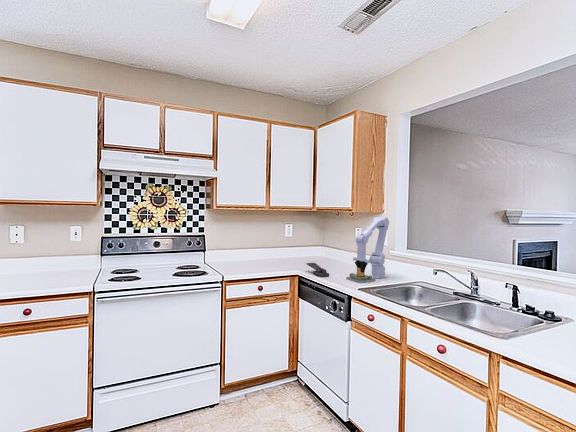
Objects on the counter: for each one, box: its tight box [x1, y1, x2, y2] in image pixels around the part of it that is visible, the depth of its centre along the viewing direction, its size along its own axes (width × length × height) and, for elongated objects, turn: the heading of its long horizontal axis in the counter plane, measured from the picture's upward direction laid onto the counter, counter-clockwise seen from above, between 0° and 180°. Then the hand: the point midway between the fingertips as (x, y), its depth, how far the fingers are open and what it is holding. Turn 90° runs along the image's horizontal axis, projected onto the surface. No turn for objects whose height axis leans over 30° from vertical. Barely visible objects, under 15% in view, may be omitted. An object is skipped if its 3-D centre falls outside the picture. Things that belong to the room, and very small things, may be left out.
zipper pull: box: [306, 262, 330, 278], centre depth 249 cm, size 9×7×25 cm
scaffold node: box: [346, 272, 377, 284], centre depth 231 cm, size 14×17×4 cm
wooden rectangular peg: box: [356, 266, 366, 277], centre depth 229 cm, size 4×3×8 cm, turn 120°
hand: (360, 272), depth 229 cm, fingers closed on wooden rectangular peg, 3 cm apart
